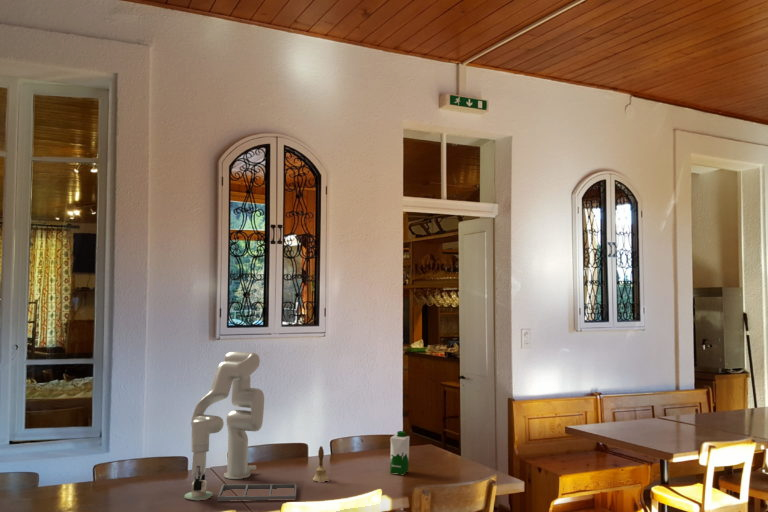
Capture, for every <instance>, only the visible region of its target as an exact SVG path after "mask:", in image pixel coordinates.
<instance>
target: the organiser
mask: <svg viewBox="0 0 768 512" xmlns="http://www.w3.org/2000/svg"><path fill="white" fill-rule="evenodd" d="M277 488H294V495H287V496H271V494H272V489H277ZM230 489H245V492H244V495H243V496H221V495H222V493H223V491H226V490H230ZM248 489H270V492H269V496H246V495H247V491H248ZM268 499H296V500H297V483H259V484H257V483H255V484H254V483H251V484H246V483H245V484H244V483H243V484H242V483H241V484H222V485H221V487H220V489H219V491H218V495H217V500H216V502H217V501H230V500H238V501H239V500H268Z"/></svg>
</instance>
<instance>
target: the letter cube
mask: <svg viewBox="0 0 768 512" xmlns="http://www.w3.org/2000/svg"><path fill="white" fill-rule="evenodd" d="M201 481H202V487H201V491H194V480H193V481H192V483H191V492H192V497H205V495H206V491H207V480H206V479H205V480H201Z"/></svg>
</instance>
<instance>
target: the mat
mask: <svg viewBox="0 0 768 512" xmlns="http://www.w3.org/2000/svg"><path fill="white" fill-rule="evenodd" d="M211 496H212V497H214V493H213V492H212V491H208V490H206V495H205V497H192V491H189V492H187V493H185V494H184V499H185V498H187V499H193V500H199V499H206V498H209V497H211ZM212 497H211V498H212Z"/></svg>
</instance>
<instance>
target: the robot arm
mask: <svg viewBox="0 0 768 512" xmlns="http://www.w3.org/2000/svg"><path fill="white" fill-rule="evenodd" d="M260 361H261V360H260V356H259V355H258V354H257V353H255V352H248V351H247V352H243V351H229V352H227V353H225V355H224V361H221V362H220V363H218V366H217V368H216V371H215V374H214V376H213V377H214V378H213V380H212V384H211V387H210V391H209V392H208V393H206V394H205V395H204V396H203V397H202V398H201V399H200V400H199V401H198V402H197V404H196V405H195V408H194V411H193V414H192V416H191V422H190V425H191V442H190V443H191V447H190V450H191V451H190V452H191V453H192V462H191V465H192V466H191V476H193V481H194V491H201V487H202V481H201V480H206V474H205V473H206V468H207V452H210V435H211V434H216V433H219V432H221V431H222V429H223V428H224V423H225V422H224V419H223V418H222V417H220V416H219V415H212V414H205V412H206V410H208V408H209V407H210V406H211V405H213V404H215V403H218V402H220V401H223V400H225V399H227V398H228V397H229V395H230V391H231V404H232V406H234V407H237V408H246V409H234V410H231V411H229V412H228V413H227V416H226V426H227V427H226V428H227V438H228V439H227V465H226V466H227V468H226V472H224V473H223V477H224V478H226V479H228V480H244V479H247V478H249V477H250V476H251V472H250V471H252V470H253V471H254V470H257V465H251V464H250V465H248V458H249V457H248V456H249V455H248V454H249V438H248V435H247V432H258V431H260V430H261V429H262V426H263V422H264V408H265V395H264V391H263V390H261V389H260V388H256V387H255V388H254V387H251V375H252V374H254V372H255V371H257V369H258V367H260ZM247 409H250V410H247ZM243 478H244V479H243Z"/></svg>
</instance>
